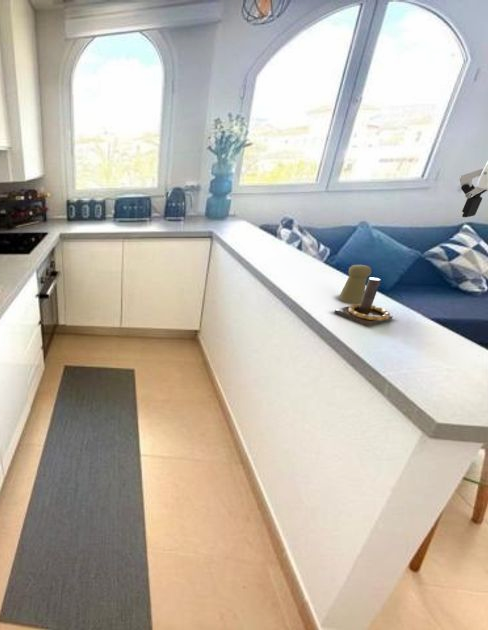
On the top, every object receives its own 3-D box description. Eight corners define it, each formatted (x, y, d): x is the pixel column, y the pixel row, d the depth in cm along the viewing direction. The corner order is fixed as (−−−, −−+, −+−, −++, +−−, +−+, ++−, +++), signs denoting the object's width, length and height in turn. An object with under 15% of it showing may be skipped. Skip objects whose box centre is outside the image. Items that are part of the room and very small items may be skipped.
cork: (367, 303, 103) (379, 268, 98) (345, 303, 104) (356, 269, 99) (355, 296, 108) (366, 262, 103) (334, 296, 109) (344, 262, 104)
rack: (357, 307, 101) (369, 271, 96) (391, 319, 93) (406, 281, 89) (334, 313, 99) (345, 276, 94) (367, 326, 91) (381, 287, 86)
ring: (362, 305, 100) (364, 301, 99) (397, 317, 92) (398, 313, 92) (340, 310, 98) (341, 307, 97) (373, 323, 90) (374, 319, 89)
